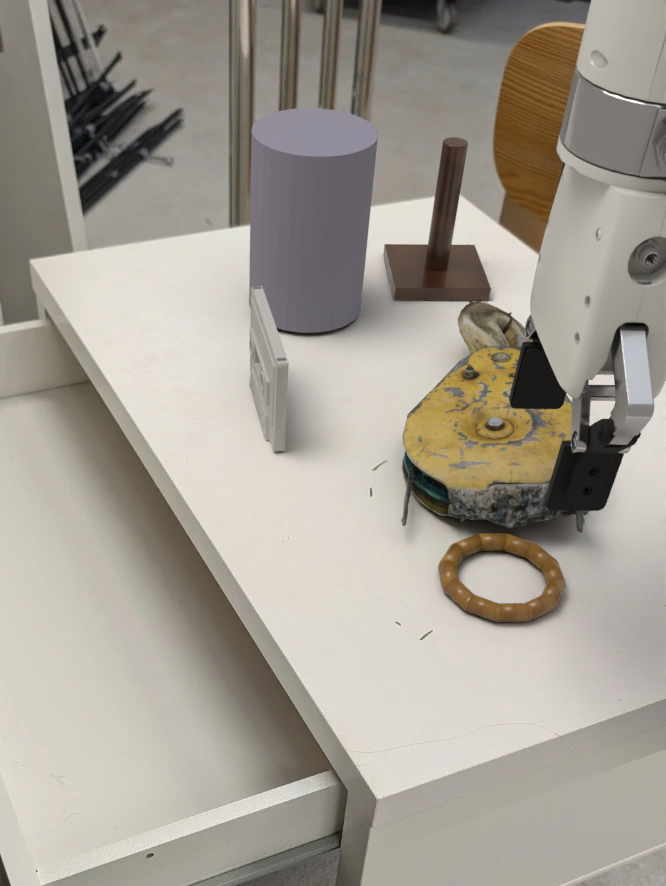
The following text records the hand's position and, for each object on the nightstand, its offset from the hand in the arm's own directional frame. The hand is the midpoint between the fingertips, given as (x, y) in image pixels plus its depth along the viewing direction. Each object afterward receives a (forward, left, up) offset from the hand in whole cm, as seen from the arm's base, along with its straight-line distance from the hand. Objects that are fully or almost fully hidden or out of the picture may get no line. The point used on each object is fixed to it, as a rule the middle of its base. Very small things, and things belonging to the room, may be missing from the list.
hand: (553, 454), depth 58 cm
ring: (0, -4, -12) cm, 13 cm away
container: (+11, -42, -13) cm, 45 cm away
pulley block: (-3, -21, -13) cm, 25 cm away
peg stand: (-2, -48, -13) cm, 50 cm away
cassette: (+15, -25, -13) cm, 32 cm away
